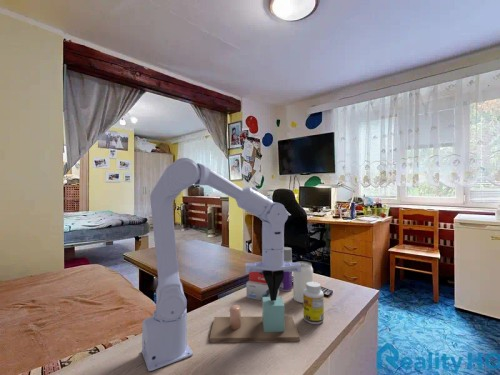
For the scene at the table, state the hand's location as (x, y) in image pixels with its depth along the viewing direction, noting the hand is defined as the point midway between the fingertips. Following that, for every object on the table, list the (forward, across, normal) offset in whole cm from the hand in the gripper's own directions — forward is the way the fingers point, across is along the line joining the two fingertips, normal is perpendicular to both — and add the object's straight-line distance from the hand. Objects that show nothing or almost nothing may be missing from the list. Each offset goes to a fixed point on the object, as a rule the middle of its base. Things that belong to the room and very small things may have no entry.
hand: (273, 298), depth 66 cm
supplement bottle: (+8, -12, -5) cm, 15 cm away
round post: (+8, +10, 0) cm, 13 cm away
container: (+8, -8, -27) cm, 29 cm away
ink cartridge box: (+8, +2, -19) cm, 21 cm away
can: (+8, -12, -18) cm, 23 cm away
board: (+8, +5, 0) cm, 10 cm away
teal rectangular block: (+7, 0, 0) cm, 7 cm away
